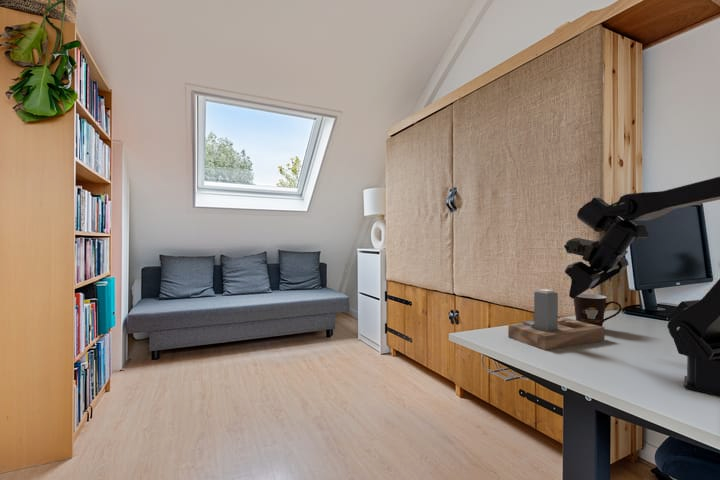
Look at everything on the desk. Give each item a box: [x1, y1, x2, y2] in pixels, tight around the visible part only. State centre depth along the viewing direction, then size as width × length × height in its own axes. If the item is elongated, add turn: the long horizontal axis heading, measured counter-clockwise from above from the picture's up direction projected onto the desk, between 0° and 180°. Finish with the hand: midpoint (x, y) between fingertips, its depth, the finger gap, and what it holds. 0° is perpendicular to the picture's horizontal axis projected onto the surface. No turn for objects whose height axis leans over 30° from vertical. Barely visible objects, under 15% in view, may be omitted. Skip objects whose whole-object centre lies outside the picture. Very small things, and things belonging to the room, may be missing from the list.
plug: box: [533, 288, 559, 332], centre depth 97 cm, size 4×4×14 cm
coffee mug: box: [572, 293, 622, 327], centre depth 109 cm, size 12×9×10 cm
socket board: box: [507, 317, 605, 351], centre depth 100 cm, size 12×22×4 cm, turn 112°
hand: (580, 292), depth 93 cm, fingers open, 9 cm apart
